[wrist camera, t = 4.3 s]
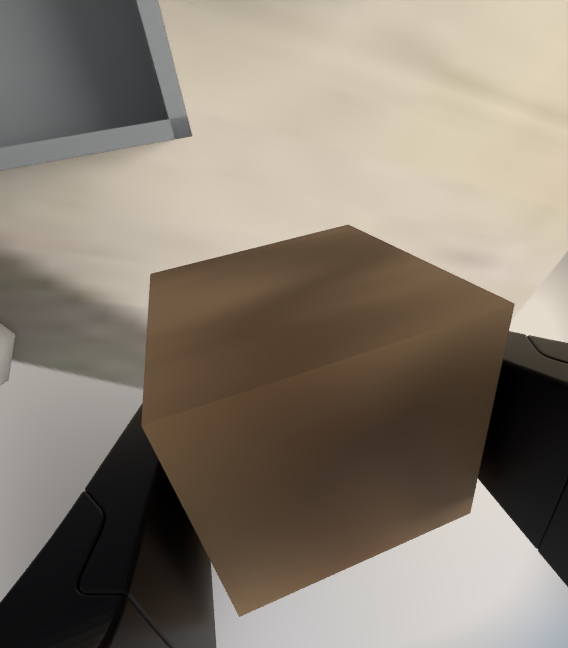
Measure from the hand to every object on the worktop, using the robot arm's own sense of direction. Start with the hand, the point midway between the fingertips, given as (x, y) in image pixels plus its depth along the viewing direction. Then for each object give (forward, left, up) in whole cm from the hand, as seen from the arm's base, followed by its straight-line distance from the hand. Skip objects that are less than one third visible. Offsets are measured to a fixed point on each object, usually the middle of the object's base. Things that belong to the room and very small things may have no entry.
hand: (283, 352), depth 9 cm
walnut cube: (0, 0, -1) cm, 1 cm away
